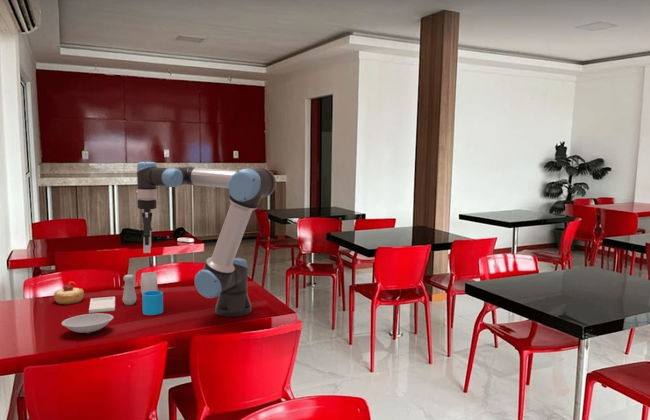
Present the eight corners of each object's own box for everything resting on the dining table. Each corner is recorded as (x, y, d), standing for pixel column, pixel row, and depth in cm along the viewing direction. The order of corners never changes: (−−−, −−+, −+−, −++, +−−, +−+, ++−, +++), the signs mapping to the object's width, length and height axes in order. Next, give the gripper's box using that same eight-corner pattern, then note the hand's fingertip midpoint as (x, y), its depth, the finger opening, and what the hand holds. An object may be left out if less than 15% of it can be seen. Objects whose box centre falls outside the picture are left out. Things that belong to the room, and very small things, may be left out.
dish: (110, 323, 206) (110, 311, 205) (116, 334, 194) (116, 321, 193) (60, 330, 197) (60, 317, 197) (63, 343, 185) (62, 329, 184)
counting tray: (114, 310, 221) (114, 307, 221) (88, 313, 218) (88, 309, 218) (115, 299, 237) (115, 296, 237) (90, 301, 233) (90, 298, 233)
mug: (163, 314, 218) (163, 295, 218) (142, 315, 216) (142, 296, 215) (162, 305, 230) (161, 287, 229) (142, 307, 227) (141, 289, 226)
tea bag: (157, 293, 249) (156, 272, 247) (142, 295, 245) (142, 274, 244) (155, 291, 252) (155, 271, 251) (141, 293, 248) (140, 272, 247)
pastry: (48, 304, 230) (46, 285, 229) (69, 297, 241) (67, 278, 240) (69, 307, 226) (68, 287, 225) (90, 299, 237) (88, 280, 236)
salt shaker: (132, 301, 235) (131, 272, 234) (139, 303, 232) (138, 274, 230) (120, 304, 231) (119, 275, 229) (127, 306, 227) (126, 277, 226)
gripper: (138, 195, 228) (139, 243, 231) (135, 202, 205) (136, 255, 207) (156, 196, 231) (157, 243, 233) (156, 202, 207) (156, 255, 210)
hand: (147, 249), depth 220 cm, fingers open, 13 cm apart
